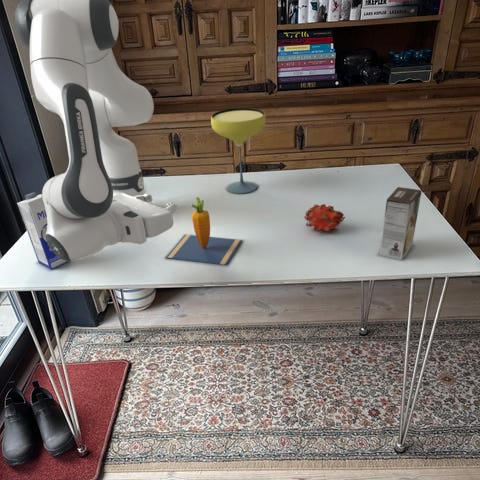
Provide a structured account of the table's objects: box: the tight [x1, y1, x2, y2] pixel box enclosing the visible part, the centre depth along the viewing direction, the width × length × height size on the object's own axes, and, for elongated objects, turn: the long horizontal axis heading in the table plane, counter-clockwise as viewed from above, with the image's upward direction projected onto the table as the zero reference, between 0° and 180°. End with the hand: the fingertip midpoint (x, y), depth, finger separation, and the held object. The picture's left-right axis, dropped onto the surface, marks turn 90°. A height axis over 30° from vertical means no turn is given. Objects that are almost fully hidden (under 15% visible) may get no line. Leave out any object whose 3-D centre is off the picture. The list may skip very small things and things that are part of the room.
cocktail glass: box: [210, 107, 267, 195], centre depth 164 cm, size 18×18×25 cm
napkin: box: [165, 234, 243, 266], centre depth 136 cm, size 18×14×1 cm
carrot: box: [190, 196, 211, 249], centre depth 131 cm, size 5×5×15 cm
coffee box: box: [379, 186, 423, 261], centre depth 125 cm, size 9×6×16 cm
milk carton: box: [16, 192, 69, 270], centre depth 130 cm, size 7×7×20 cm
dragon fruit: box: [304, 203, 346, 234], centre depth 140 cm, size 8×8×12 cm
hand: (162, 201), depth 118 cm, fingers open, 8 cm apart
